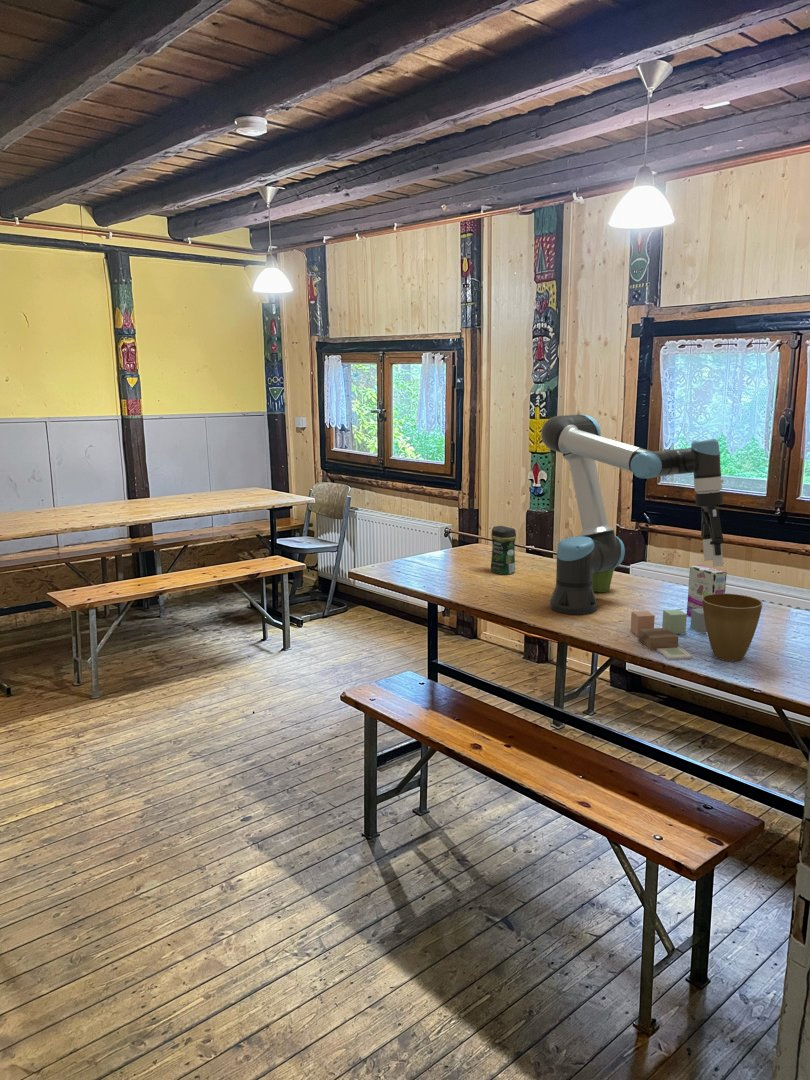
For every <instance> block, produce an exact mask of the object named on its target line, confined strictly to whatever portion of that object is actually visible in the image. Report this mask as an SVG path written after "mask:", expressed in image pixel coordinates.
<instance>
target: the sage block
mask: <svg viewBox="0 0 810 1080" xmlns="http://www.w3.org/2000/svg"><path fill="white" fill-rule="evenodd" d="M687 617H688V616H687V612H684V611H683V610H681V609H665V610H664V609H663V610H662V626H661V628H667V629H668V630H669V631H671V632H672V633H674V634H675V635H679V634H678V633H683V634H685V633H686V632H687ZM683 634H682V635H683ZM686 634H687V633H686Z"/></svg>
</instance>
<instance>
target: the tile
mask: <svg viewBox="0 0 810 1080" xmlns="http://www.w3.org/2000/svg"><path fill="white" fill-rule="evenodd" d="M658 651H659V652H660V653H659V652H658ZM656 652H658V653H659V654H660V655H662V654H663V655H664V656H665V658H666V659H667V660H682V659H683V660H684V659H693V658H694V655H692V654H691V653H690V652H688V651H686V650H685V649H684V648H683V647H682V646H681V647H679V646H678V648H657V650H656ZM663 655H662V656H663ZM664 656H663V657H664Z"/></svg>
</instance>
